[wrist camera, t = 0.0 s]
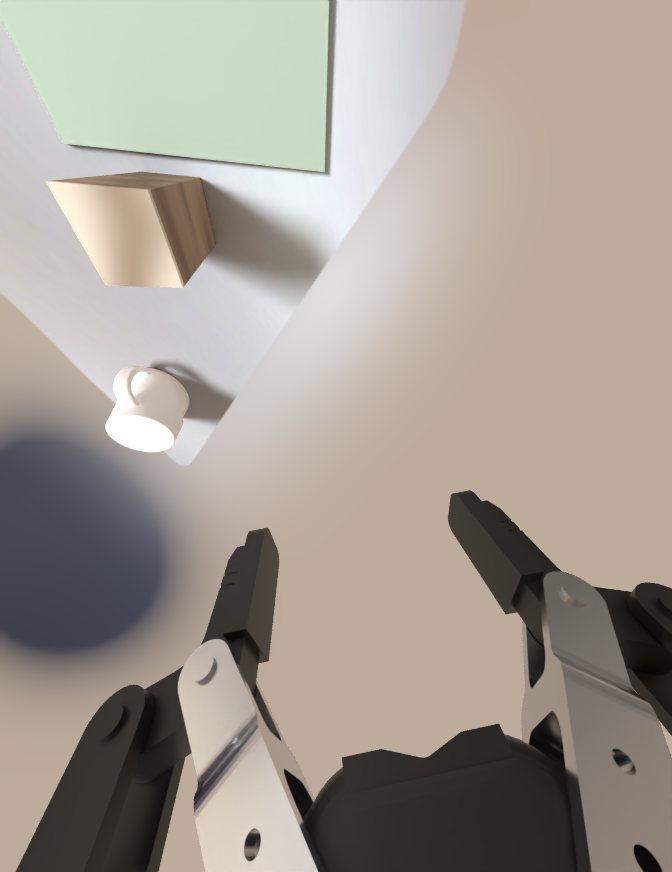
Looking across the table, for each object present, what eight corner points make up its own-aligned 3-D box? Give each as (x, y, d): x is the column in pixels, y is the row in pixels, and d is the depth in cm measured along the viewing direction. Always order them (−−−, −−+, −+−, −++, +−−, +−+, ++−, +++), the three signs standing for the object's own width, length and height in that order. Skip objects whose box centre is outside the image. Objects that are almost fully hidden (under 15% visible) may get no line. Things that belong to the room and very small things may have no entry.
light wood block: (166, 240, 26) (105, 285, 17) (141, 171, 22) (45, 181, 13) (215, 243, 26) (183, 287, 17) (200, 177, 23) (147, 190, 14)
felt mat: (66, 143, 20) (62, 143, 20) (-164, -325, 10) (-181, -344, 10) (323, 171, 24) (324, 172, 23) (332, -160, 14) (333, -170, 13)
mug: (186, 453, 38) (130, 457, 36) (199, 412, 44) (151, 415, 42) (145, 393, 29) (69, 396, 27) (168, 352, 35) (107, 353, 33)
